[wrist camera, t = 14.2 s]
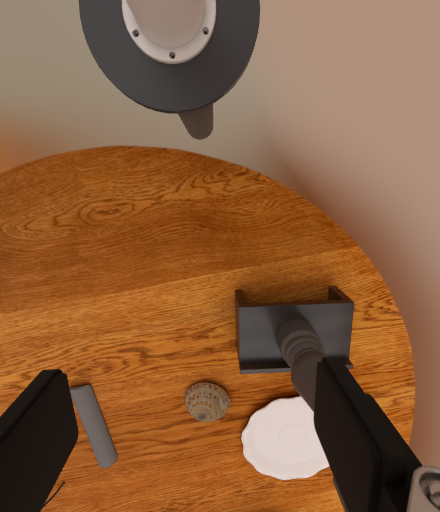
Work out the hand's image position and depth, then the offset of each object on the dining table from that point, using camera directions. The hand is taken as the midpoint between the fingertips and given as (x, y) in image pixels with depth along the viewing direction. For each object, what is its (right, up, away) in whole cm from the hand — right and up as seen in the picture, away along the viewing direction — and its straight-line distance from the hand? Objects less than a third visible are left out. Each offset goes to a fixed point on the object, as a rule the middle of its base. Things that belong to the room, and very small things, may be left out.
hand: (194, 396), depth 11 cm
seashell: (-2, -23, +46) cm, 51 cm away
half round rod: (-24, -29, +47) cm, 60 cm away
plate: (+16, -32, +49) cm, 60 cm away
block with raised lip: (+13, -6, +42) cm, 44 cm away
